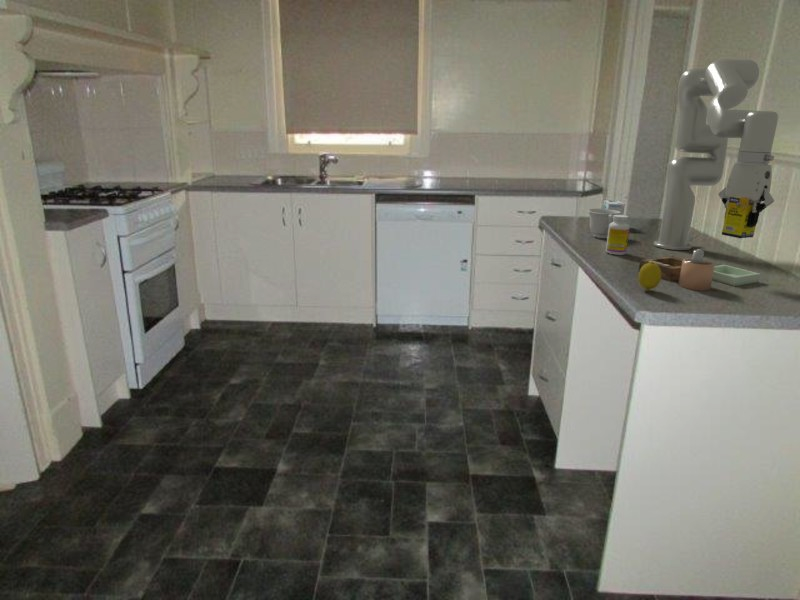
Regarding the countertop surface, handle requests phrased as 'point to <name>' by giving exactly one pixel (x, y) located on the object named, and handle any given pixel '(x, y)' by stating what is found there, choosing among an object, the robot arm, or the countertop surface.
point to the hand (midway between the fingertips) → (739, 223)
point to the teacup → (601, 221)
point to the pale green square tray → (734, 275)
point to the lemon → (649, 275)
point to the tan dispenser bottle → (696, 272)
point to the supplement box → (738, 218)
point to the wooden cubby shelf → (666, 266)
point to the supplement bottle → (618, 235)
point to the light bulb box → (614, 206)
